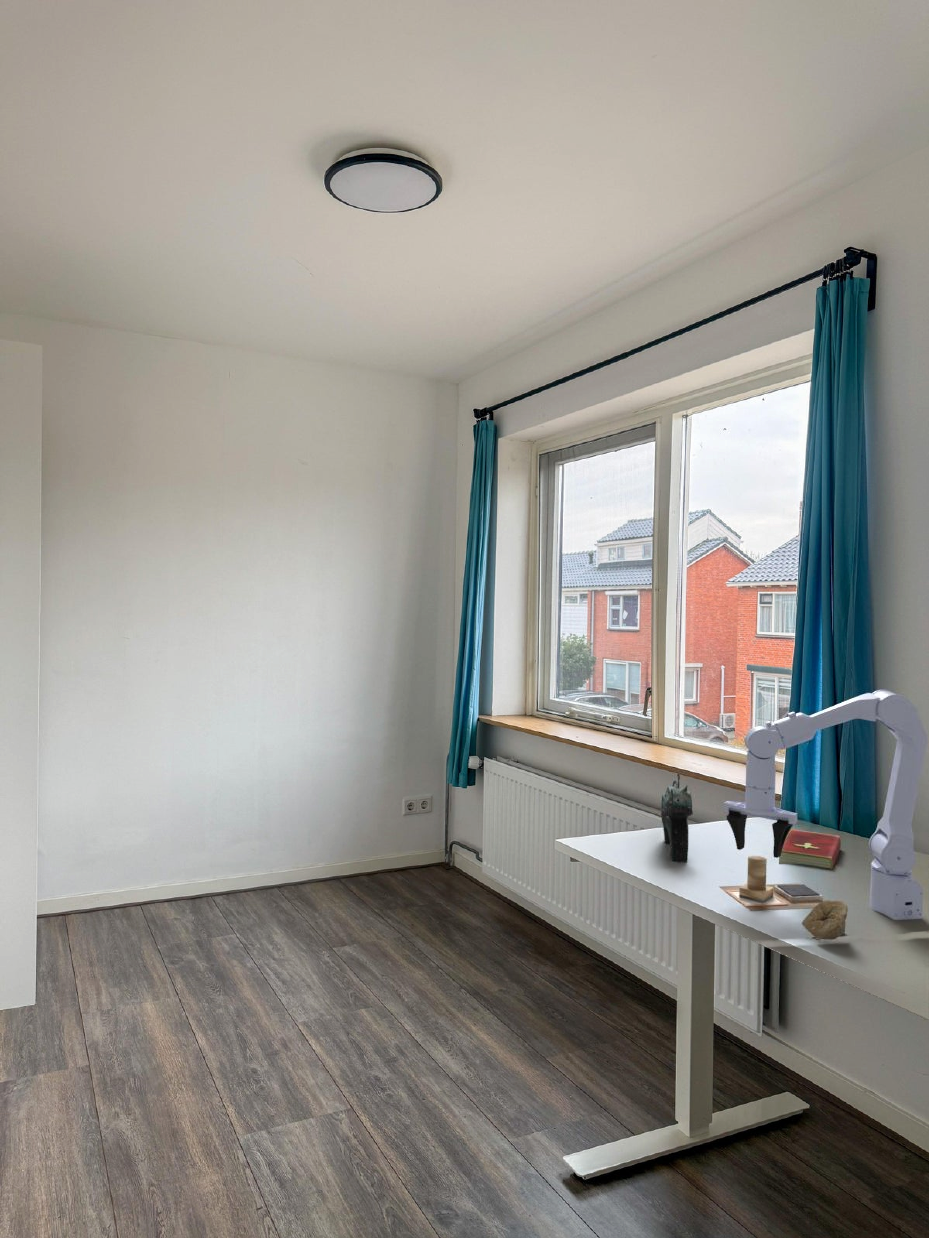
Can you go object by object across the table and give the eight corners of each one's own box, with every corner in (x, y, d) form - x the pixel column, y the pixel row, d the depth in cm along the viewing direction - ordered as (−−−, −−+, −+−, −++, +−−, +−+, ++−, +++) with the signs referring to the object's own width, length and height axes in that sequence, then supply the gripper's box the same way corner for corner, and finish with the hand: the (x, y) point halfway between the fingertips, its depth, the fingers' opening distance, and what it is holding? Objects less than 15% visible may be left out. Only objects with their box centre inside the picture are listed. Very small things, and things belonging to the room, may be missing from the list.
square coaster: (788, 905, 172) (788, 904, 172) (745, 906, 170) (745, 905, 170) (765, 889, 181) (765, 888, 181) (725, 891, 179) (725, 890, 179)
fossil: (820, 894, 165) (854, 901, 155) (835, 911, 165) (870, 919, 155) (792, 929, 162) (824, 938, 153) (807, 946, 162) (841, 956, 153)
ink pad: (823, 900, 175) (823, 894, 175) (791, 902, 174) (791, 896, 173) (804, 888, 182) (804, 883, 181) (773, 890, 180) (773, 884, 180)
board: (835, 911, 171) (835, 906, 171) (750, 915, 168) (750, 910, 168) (797, 887, 185) (797, 883, 185) (718, 891, 182) (718, 886, 182)
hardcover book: (840, 851, 214) (841, 834, 214) (832, 875, 195) (832, 857, 195) (789, 844, 219) (790, 827, 219) (776, 866, 201) (777, 848, 201)
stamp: (773, 897, 176) (774, 858, 176) (763, 903, 172) (764, 863, 172) (749, 891, 179) (750, 853, 179) (739, 897, 176) (740, 858, 175)
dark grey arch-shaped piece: (693, 864, 200) (695, 779, 199) (664, 863, 201) (666, 778, 200) (681, 840, 220) (683, 762, 219) (655, 839, 220) (657, 761, 220)
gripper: (803, 788, 173) (801, 855, 174) (734, 777, 183) (732, 841, 183) (790, 794, 168) (788, 863, 168) (720, 782, 177) (718, 848, 178)
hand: (758, 852), depth 175 cm, fingers open, 7 cm apart
